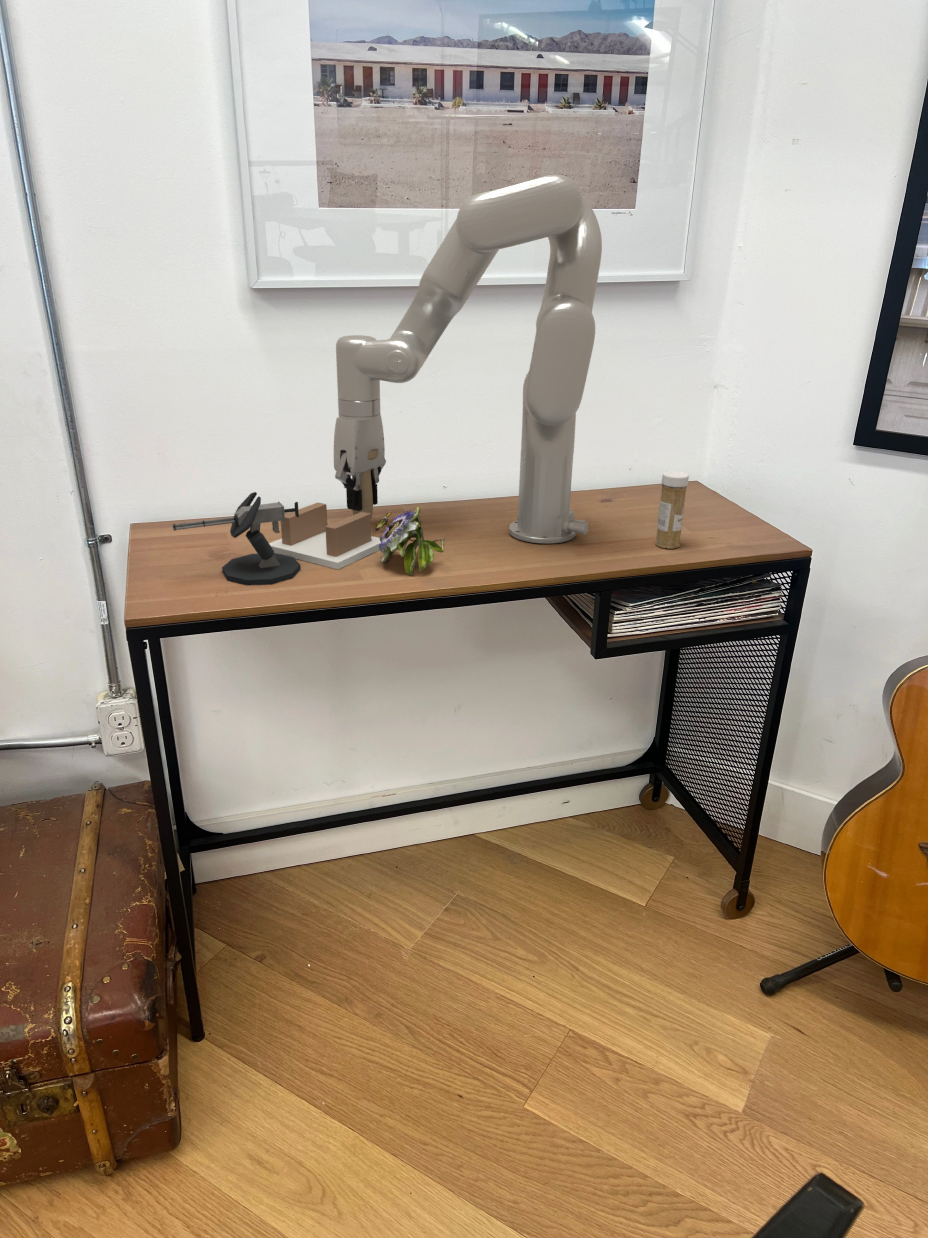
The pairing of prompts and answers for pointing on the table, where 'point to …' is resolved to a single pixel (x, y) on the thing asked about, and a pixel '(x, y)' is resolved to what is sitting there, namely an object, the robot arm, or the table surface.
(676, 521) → the sprinkles bottle
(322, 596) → the table surface
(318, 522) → the white base with blocks
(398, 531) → the passion flower
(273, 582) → the gun turret
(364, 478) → the handle
